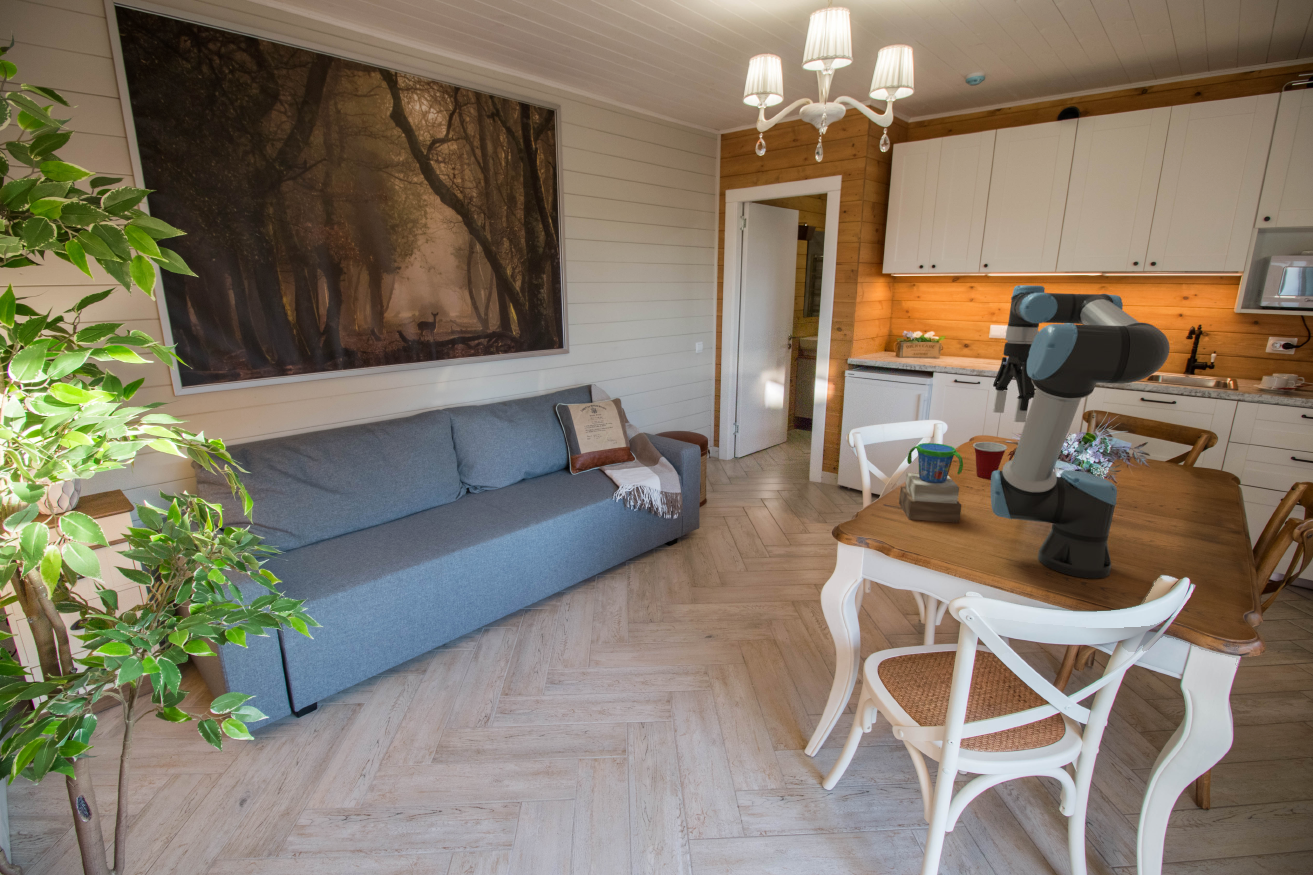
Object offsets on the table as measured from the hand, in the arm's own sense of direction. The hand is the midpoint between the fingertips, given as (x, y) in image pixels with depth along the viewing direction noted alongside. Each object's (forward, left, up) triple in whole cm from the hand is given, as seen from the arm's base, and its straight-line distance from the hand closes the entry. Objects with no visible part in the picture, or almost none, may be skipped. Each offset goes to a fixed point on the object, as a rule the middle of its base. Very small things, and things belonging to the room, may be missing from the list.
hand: (1008, 417), depth 178 cm
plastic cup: (+44, -12, -31) cm, 55 cm away
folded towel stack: (+1, +18, -31) cm, 36 cm away
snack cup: (+1, +18, -21) cm, 27 cm away
